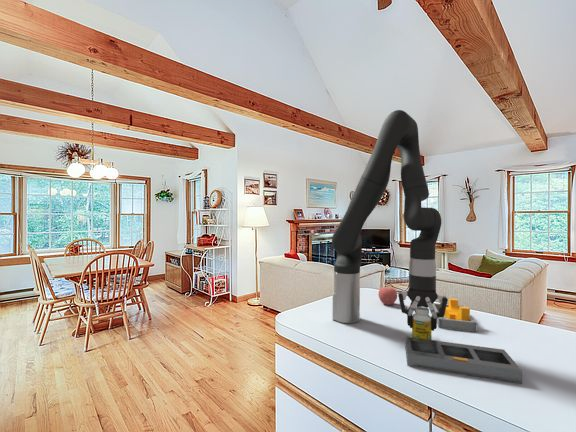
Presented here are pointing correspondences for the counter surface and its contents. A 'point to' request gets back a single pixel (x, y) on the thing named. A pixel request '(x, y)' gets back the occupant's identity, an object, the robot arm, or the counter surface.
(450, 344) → the three-compartment grey tray
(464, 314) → the pipe clamp
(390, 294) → the apple
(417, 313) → the supplement bottle
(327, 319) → the counter surface
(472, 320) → the clamp tray
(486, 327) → the counter surface
